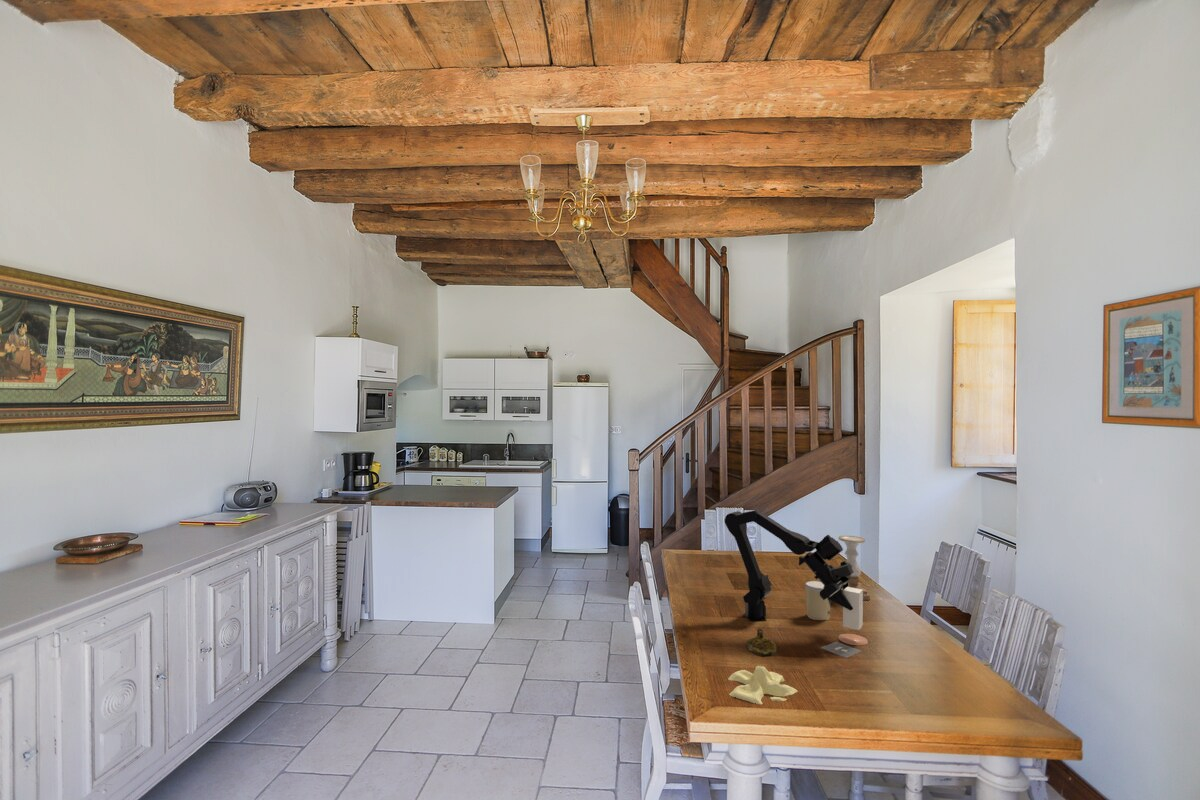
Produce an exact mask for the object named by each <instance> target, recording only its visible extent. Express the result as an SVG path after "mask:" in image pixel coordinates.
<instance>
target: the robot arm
mask: <svg viewBox="0 0 1200 800" xmlns="http://www.w3.org/2000/svg"><path fill="white" fill-rule="evenodd" d="M723 521H724V524H725V527H726V528H727V530H728V532H729V533H730V534H731V536H733V537H734V540H735V542H736V545H737V547H738V550H739V553H740V556H741V558H742V562H743V564H744V567H745V570H746V573H747V577H748V578H747V586H748V592H747V593H746V594H744V595H743V597H742V599H743V602H744V603H745V605H744V606H745V607H744V608H745V612H744V613H743V616H745V618H746V619H747V620H748V621H757V622H758V621H767V618H766V617H767V606H766V604H765V601H764V600H765V599H766V597H767V596H769V595H770V594H771V592H772V587H771V586H772V583H771V581H770V580H769V579H770V578H769V575H768V574H765V575H764V574H763V573H762V571H761V570H760V567H759V565H758V564H759V563H758V561H757V558H756V556H755V553H754V550H753V548H752V545H751V542H750V540H749V536H748V533H747V532H748V525H747V524H748V523H753V522H754V523H756V524H757V525H758V526H760V527H761V528H763V529H764V530H766V531H767V532H769V533H770V534H772V535H773V536H775V537H776V538H777V539H779V540H780V541H782V542H783V544H784V545H785V546H786V548H787V549H789V550H790V552H792V554H794V555H796V556H799V557H798V565H799V566H801V565H803V564H805V565H806V566H807V567H808V568H809V570H811V572H812V573H813V574H814V579H815V580H817V579H818V580H819V582H822V584H823V585H824V587H823V588H824V589H822V590H821V591H820V597H821V598H822V599H823V600H825V599H826V598H828V597H829V596H830V597H829V598H828V600H831V602H833V603H836V604H838V605H839V606H841V607H842V608H843V607H845V608H847V609H849V610H852V609H853V607H852V606H851V604H850V603H849V601H848V600H847V598H846V597H845V595H844V594H843V590H844V589H845V588H846V587H849V584H850V581H849V582H847V583H846V581H847V580H849V579H850V578H851V577H850V575H852V573H854V572H853V570H852V565H850V563H848V562H847V560H844V561H843V560H842V561H841V562H840V565H838V566H836V567H834V566H833V564H831V563H830V564H828V562H827V561H831V560H833V558H835V557H836V556H837V555H839V554H840V553H842V552H843V551H844V548H843V547H842V545H841V543H840V542H839V540H836V539H835V538H834V537H831V535H830V534H827V535H825V536H824V537H823V538H822V540H820V541H819V542H818V541H814V540H811V539H810V538H809V537H807V536H805V535H803V534H801V533H799V532H795V531H792V530H790V529H787V528H786V527H785V526H783V525H782V524H780V523H779V522H777V521H776V520H774V519H773V518H772V517H769V516H768V515H767V514H765V513H764V512H763V511H761V510H760V509H753V510H750V511H745V512H744V511H743V512H741V511H738V510H737V511H734V512H731V513H730V512H729V513H728V514H726V515H725V518H724V520H723ZM814 550H815V551H814ZM805 553H806V554H805ZM804 554H805V555H804ZM803 555H804V556H803ZM826 560H827V561H826Z"/></svg>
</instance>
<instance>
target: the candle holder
mask: <svg viewBox="0 0 1200 800" xmlns="http://www.w3.org/2000/svg"><path fill="white" fill-rule="evenodd" d="M838 541H841V542H842V543H844V545H845V546H846V550H845V552H844V554H845V556H846V558H847V559H846V561H847V562H848V563H850V565H852V570H853V572H854V573H852V575H850V577H851V578H850V579H849V580H847V581H846V583H847V582H849V581H850V584H849V587H851V588H857V589H862V590H863V601H870V600H871V595H870V593H868V591H867V589H865V588H864V587H862V585H860V584H859V582H860V578H859V576H860V575H861V573H862V568H861V567H860V565H859V564H858V561H857V557H858V556H859V552H858V551H857V547H858V546H859V545H860V544H862V543H865V542H866V539H865V538H863V537H861V536H855V535H839V536H838Z"/></svg>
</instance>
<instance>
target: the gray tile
mask: <svg viewBox="0 0 1200 800" xmlns="http://www.w3.org/2000/svg"><path fill="white" fill-rule="evenodd" d="M820 649H822V650H826V651H828V652H829V653H833V654H835V655H838V656H841V657H843V658H846V659H847V658H849V657H851V656H854V655H856V654H859V653H861V652H862V650H861V649H858V648H855V647H853V646H850V645H848V644H846V643H845V644H844V643H843V642H839V641H834V642H831V643H829V644H826V645H823V646H821V647H820Z"/></svg>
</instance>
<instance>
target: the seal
mask: <svg viewBox="0 0 1200 800" xmlns="http://www.w3.org/2000/svg"><path fill="white" fill-rule="evenodd" d="M763 631H764V630H763V629H762V628H760V627H758V628H757V633H756V634H757V635H756V636H753V637H751V638H749V639H748V640H747V642H746V648H747V649H748V650H749V651H750V652H751V653H753V654H754V655H757V656H760V657H768V656H774V655H776V653H777V651H778V648H777V645H776V643H775V642H774V641H773V640H771V639H769V638H768V637H765V636H764V632H763Z"/></svg>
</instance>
